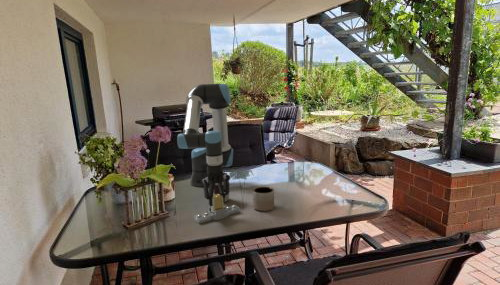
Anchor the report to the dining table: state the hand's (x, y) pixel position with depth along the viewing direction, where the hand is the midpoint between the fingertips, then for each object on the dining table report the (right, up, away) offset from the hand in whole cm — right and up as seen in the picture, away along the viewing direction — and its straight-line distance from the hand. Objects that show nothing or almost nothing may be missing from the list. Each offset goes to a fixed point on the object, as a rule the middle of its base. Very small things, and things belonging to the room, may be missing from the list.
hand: (217, 210), depth 154 cm
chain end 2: (+5, -2, +3) cm, 6 cm away
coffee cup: (0, +1, +22) cm, 22 cm away
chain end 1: (-5, -3, -2) cm, 6 cm away
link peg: (0, 0, 0) cm, 0 cm away
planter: (+23, -1, +9) cm, 25 cm away
